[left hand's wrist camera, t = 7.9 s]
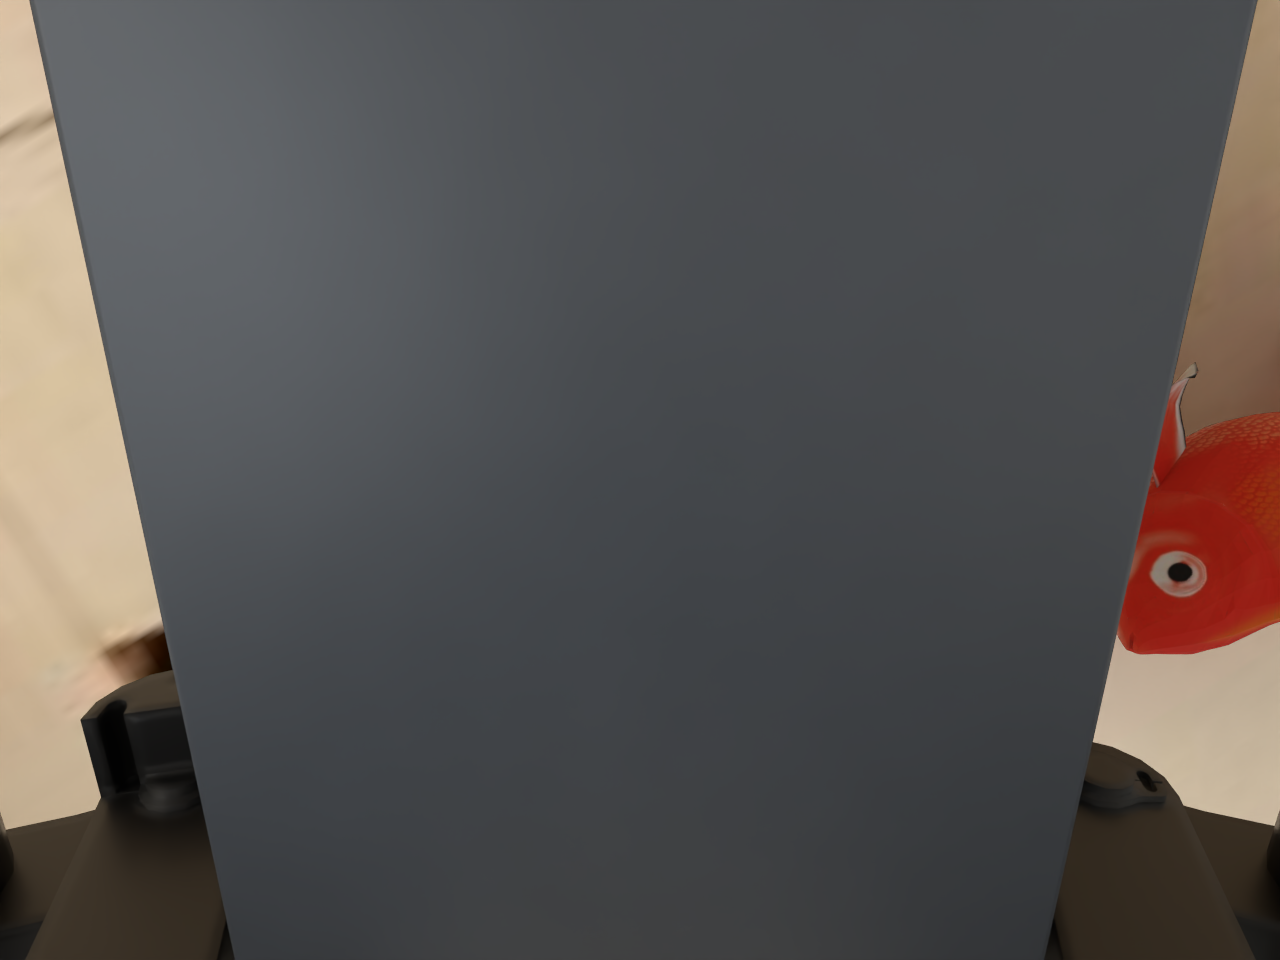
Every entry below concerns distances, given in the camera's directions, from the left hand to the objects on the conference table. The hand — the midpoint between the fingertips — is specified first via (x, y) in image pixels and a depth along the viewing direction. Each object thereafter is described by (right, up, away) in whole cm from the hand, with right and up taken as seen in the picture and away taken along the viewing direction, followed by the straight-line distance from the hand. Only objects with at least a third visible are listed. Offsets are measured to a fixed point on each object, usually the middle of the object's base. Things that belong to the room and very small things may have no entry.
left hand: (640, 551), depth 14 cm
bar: (0, +7, -2) cm, 8 cm away
